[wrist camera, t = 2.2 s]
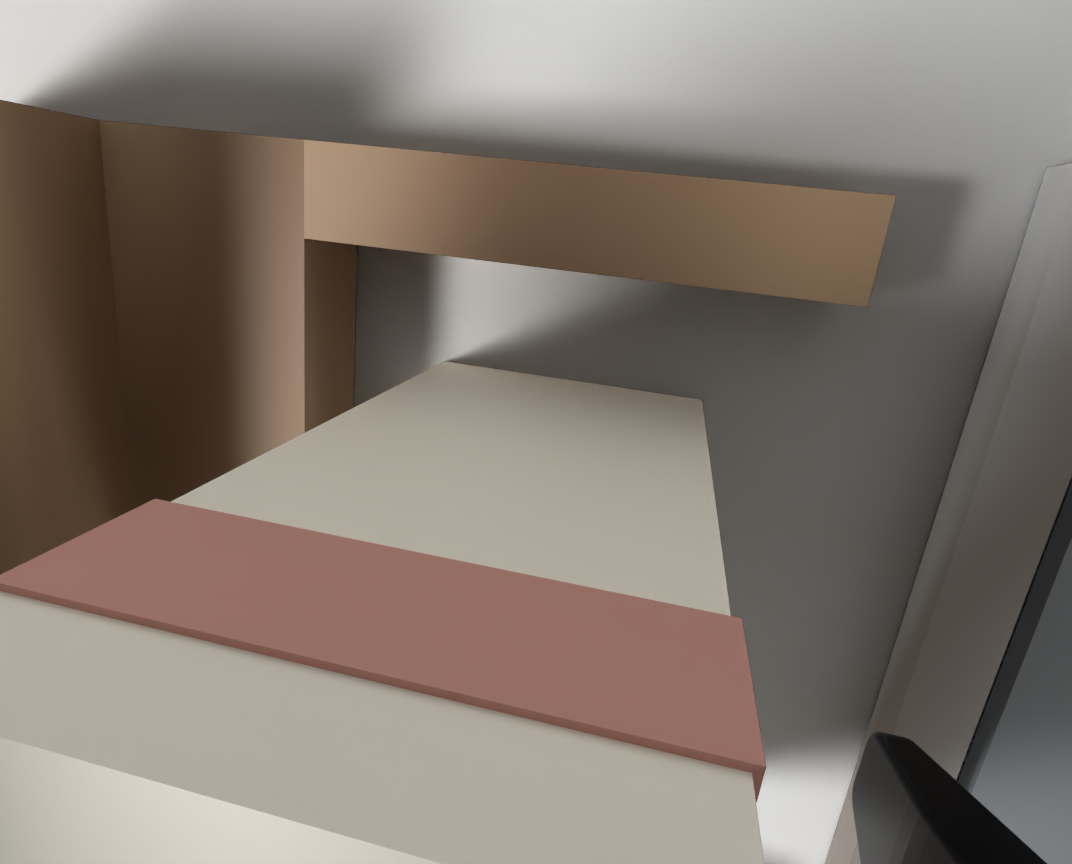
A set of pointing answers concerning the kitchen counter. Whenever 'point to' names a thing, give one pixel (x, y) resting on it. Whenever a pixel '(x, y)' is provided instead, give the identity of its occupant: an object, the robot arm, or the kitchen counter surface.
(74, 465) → the cradle
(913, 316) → the kitchen counter surface
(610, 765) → the block
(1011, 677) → the mat
